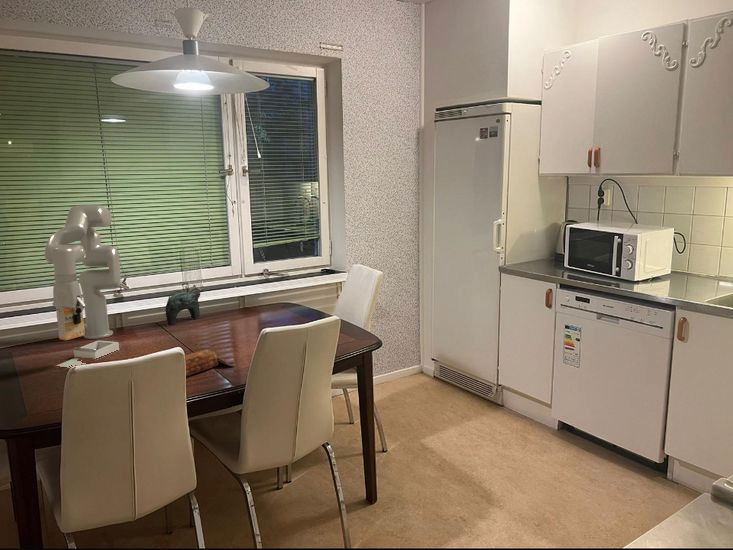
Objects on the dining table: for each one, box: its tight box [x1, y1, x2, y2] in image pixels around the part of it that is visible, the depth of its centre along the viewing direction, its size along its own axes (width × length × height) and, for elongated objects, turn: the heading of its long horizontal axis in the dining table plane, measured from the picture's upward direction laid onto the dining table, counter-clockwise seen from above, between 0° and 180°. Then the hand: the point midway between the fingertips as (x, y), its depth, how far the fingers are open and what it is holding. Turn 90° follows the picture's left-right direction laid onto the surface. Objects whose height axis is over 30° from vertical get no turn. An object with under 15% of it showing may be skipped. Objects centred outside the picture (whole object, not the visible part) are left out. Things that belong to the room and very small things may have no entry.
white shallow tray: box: [72, 340, 120, 359], centre depth 237 cm, size 11×14×4 cm
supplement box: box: [55, 306, 85, 341], centre depth 222 cm, size 8×5×13 cm, turn 148°
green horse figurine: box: [165, 282, 201, 326], centre depth 287 cm, size 20×6×20 cm, turn 144°
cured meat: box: [184, 349, 236, 377], centre depth 217 cm, size 18×25×7 cm
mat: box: [55, 357, 86, 369], centre depth 225 cm, size 10×10×1 cm
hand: (70, 322), depth 222 cm, fingers closed on supplement box, 5 cm apart
